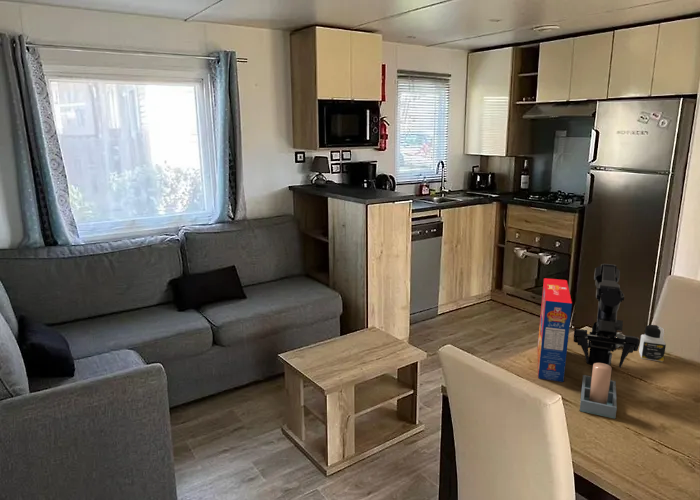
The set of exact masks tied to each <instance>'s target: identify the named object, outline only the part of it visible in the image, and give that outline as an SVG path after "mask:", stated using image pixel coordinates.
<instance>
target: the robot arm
mask: <svg viewBox="0 0 700 500" xmlns="http://www.w3.org/2000/svg"><path fill="white" fill-rule="evenodd" d="M620 275H621V270H620V269H619V268H618V267H617V265H616V264H612V263H611V264H609V263H601V264H600V265H599V266H597V267H595V268H594V275H593V280H594V281H595V285H594V286H595V287H596V289H595V299H596V300H597V301H598V303H597V304H598V305H597V316H596V317H597V318H596V321H595V322H594V323H593V324H592V327H591V331H589V332H588V330H587V329H583V328H582V329H581V328H575V329H574V330H573V343H575V344H576V343H577V346H580V347H581V349H582V352H583V353H584V354H583V355H584V358H585V361H586V364H587V365H591V366H593V364H594V363H604V364H607V365H609V366H611V363H612V357H613V353H614V352H615V351H616V349H617V348H616V345H617V344H620V345H623V347H622V351H621V356H620V360H619V363H618V365H619V368H620V369H621V368H622V366H623V364H624V362H625V360H626V358H627V357H628V355H629V354H634V353H633V352H639V347H640V338H639V337H638V336H633V335H626V334H624V335H625V339H621V338H616V334H617V331H618V332H619V331H620V332H622V331H623V327H624V326H623V325H624V321H623V320H620V319H618V311H619V308H620V304H621V303H622V302H624V301H625V294H624V293H623V290H621V286H620V284H619V281H620ZM611 352H612V353H611Z"/></svg>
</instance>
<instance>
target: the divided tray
mask: <svg viewBox="0 0 700 500" xmlns="http://www.w3.org/2000/svg"><path fill="white" fill-rule="evenodd" d="M591 379H592V375H591V376H590V375H587V374H583V375H582V383H581V389H580V390H581V391H580V392H581V393H580V404H579V412H582V413H587V414H590V415H591V414H592V415H595V416H596V415H598V416H601V417H605V418H610V419H615V420H616V417H617V410H618V409H617V407H618V405H617V403H618V401H617V385H616V380H612V379H610V386H609V394H608V402H607V405H606V404H601V403H596V402H592V401H589V397H590V388H591Z"/></svg>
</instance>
